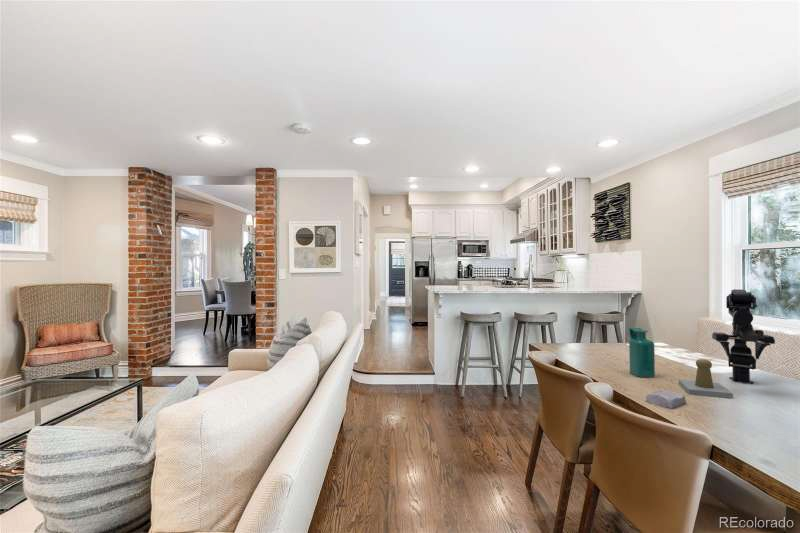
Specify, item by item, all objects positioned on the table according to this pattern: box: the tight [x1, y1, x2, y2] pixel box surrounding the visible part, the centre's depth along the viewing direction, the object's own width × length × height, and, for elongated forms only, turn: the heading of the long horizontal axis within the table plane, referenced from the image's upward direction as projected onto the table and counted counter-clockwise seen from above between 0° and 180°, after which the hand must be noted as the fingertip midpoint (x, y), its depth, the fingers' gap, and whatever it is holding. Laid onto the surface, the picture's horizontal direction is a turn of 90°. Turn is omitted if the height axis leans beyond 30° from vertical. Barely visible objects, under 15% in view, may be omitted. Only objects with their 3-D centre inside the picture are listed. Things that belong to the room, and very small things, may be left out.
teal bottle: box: [628, 327, 656, 378], centre depth 175 cm, size 10×8×22 cm
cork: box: [694, 358, 714, 388], centre depth 151 cm, size 6×6×11 cm
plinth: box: [678, 379, 734, 399], centre depth 151 cm, size 14×14×2 cm
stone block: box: [645, 390, 686, 409], centre depth 139 cm, size 12×5×10 cm
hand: (742, 358), depth 153 cm, fingers open, 9 cm apart
